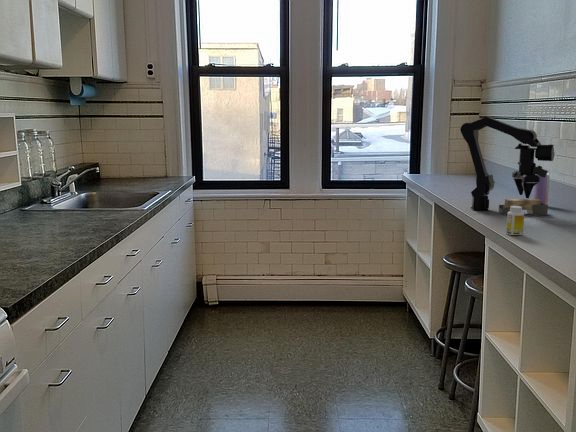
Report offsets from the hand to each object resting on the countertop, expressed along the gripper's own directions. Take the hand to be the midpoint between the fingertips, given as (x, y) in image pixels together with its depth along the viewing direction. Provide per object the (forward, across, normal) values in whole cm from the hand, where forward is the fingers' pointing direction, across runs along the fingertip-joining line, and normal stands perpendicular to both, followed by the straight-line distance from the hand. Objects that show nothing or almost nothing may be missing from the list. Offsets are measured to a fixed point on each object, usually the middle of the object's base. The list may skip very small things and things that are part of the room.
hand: (524, 196), depth 247 cm
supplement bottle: (+8, -43, +15) cm, 46 cm away
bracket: (+7, 0, -5) cm, 9 cm away
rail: (+5, 0, 0) cm, 5 cm away
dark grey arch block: (+7, 0, +7) cm, 10 cm away
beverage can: (+8, +21, -14) cm, 26 cm away
